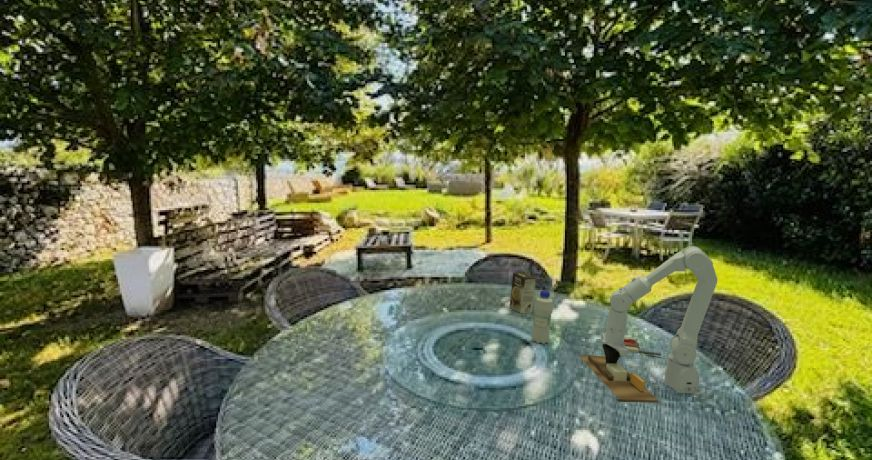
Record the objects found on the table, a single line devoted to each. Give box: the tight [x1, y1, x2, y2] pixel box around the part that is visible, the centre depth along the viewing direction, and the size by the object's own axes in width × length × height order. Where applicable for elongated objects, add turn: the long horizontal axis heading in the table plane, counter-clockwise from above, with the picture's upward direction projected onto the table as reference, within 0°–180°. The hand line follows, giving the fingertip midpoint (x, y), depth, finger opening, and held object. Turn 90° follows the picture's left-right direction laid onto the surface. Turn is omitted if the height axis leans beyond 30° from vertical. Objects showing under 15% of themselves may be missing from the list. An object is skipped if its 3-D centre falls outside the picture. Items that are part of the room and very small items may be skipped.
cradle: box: [578, 354, 659, 404], centre depth 155 cm, size 30×12×2 cm, turn 6°
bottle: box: [531, 289, 554, 345], centre depth 178 cm, size 7×7×20 cm
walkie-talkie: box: [602, 336, 662, 356], centre depth 180 cm, size 9×4×20 cm
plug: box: [606, 363, 628, 381], centre depth 154 cm, size 6×4×3 cm, turn 6°
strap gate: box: [630, 372, 646, 391], centre depth 148 cm, size 1×6×3 cm, turn 11°
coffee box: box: [509, 271, 537, 314], centre depth 215 cm, size 9×6×16 cm
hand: (610, 367), depth 158 cm, fingers closed
